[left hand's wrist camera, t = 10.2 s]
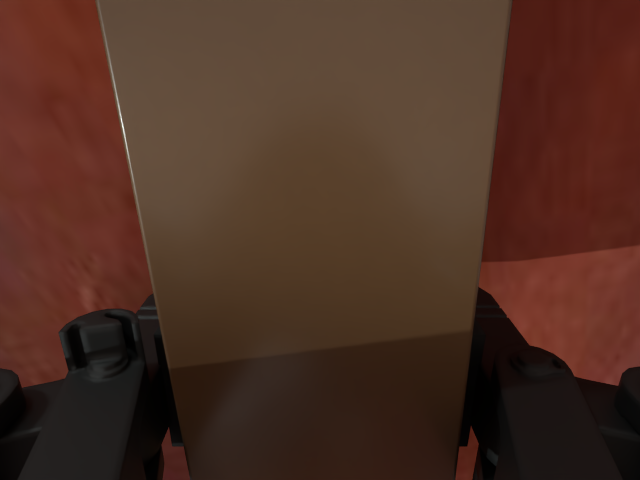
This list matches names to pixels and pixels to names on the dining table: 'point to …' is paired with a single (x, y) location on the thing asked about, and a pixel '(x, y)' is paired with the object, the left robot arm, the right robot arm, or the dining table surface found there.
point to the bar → (312, 222)
